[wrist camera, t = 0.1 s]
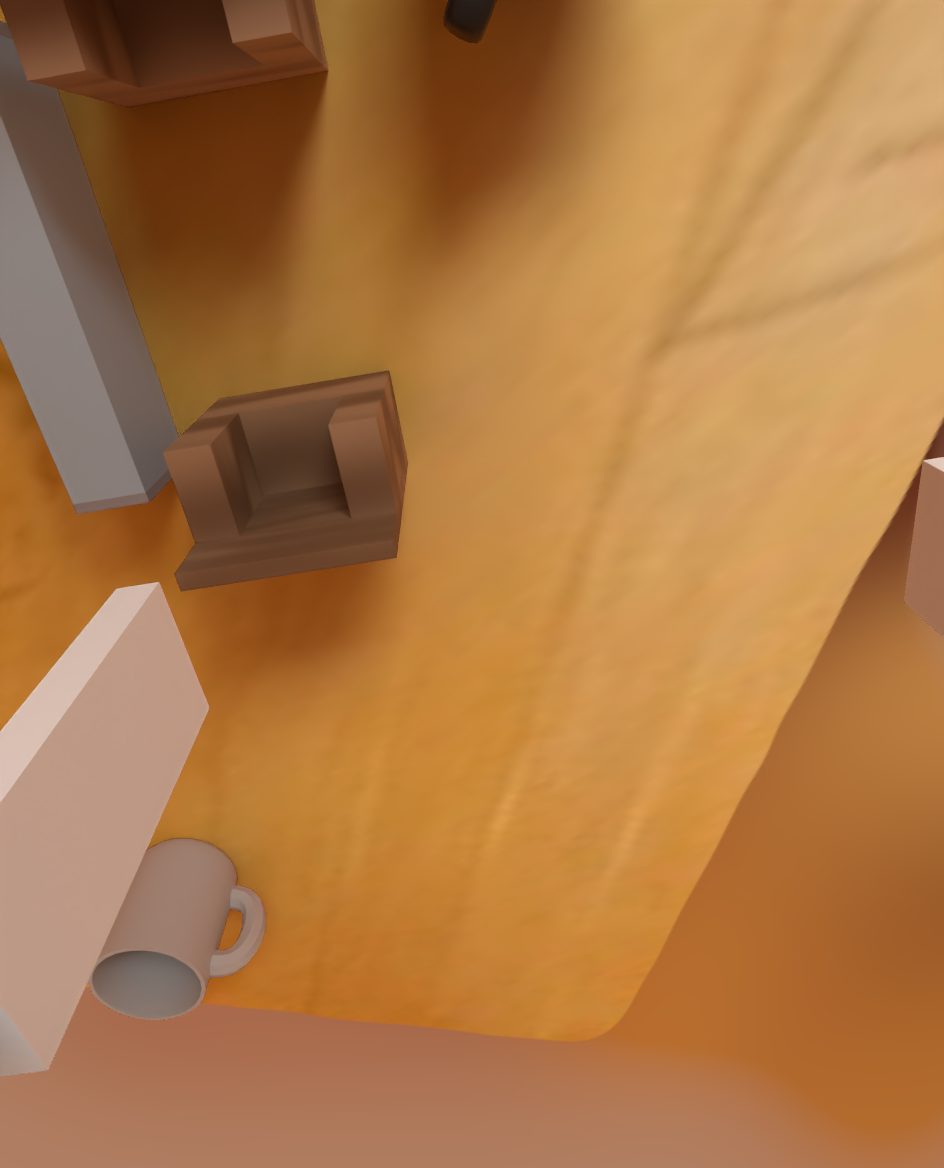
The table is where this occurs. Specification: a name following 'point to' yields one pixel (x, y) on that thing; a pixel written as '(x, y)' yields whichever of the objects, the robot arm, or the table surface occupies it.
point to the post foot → (291, 481)
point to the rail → (72, 309)
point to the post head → (163, 45)
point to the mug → (468, 18)
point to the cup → (175, 932)
